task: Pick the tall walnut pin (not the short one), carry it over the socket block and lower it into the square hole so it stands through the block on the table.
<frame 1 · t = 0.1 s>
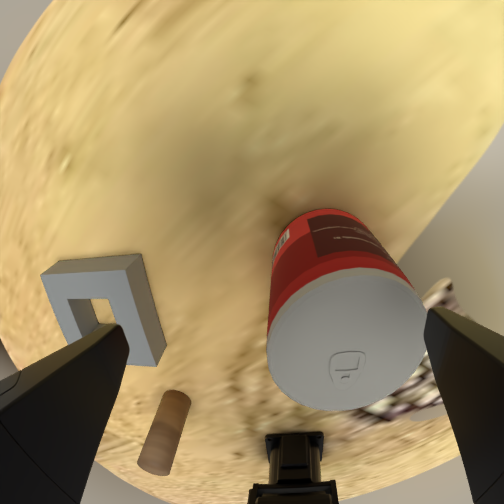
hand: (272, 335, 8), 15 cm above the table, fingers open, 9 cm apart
long pin: (177, 399, 30), on the table
socket block: (110, 303, 26), on the table
canned food: (323, 257, 23), on the table
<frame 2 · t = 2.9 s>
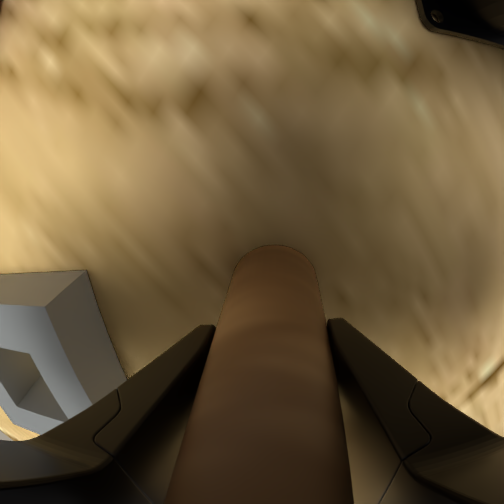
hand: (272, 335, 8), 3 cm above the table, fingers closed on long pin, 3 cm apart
long pin: (274, 284, 11), on the table, touching gripper
socket block: (50, 349, 14), on the table
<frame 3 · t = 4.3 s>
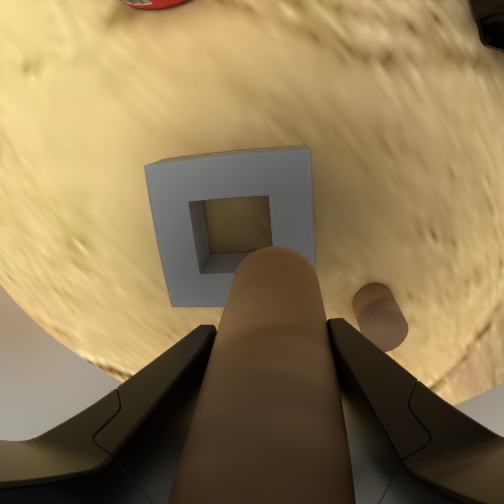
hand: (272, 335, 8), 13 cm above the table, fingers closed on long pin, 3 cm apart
long pin: (275, 286, 11), point 10 cm above the table, touching gripper
socket block: (239, 220, 20), on the table
short pin: (372, 301, 22), on the table
when the fingers open (4 cm above the table, at t = 6.0 s): long pin drops 1 cm, resting in socket block.
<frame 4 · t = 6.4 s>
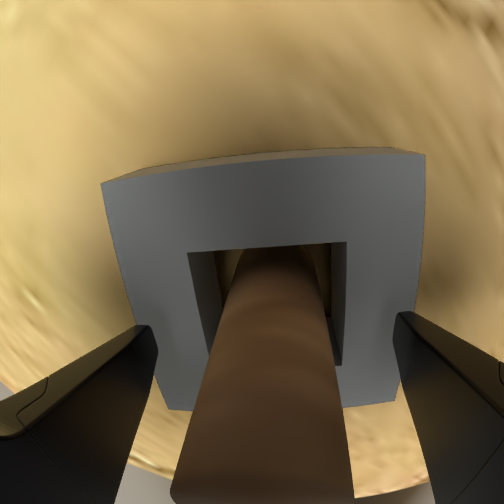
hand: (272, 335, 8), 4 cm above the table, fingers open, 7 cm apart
long pin: (275, 274, 12), resting in socket block
socket block: (274, 273, 12), on the table
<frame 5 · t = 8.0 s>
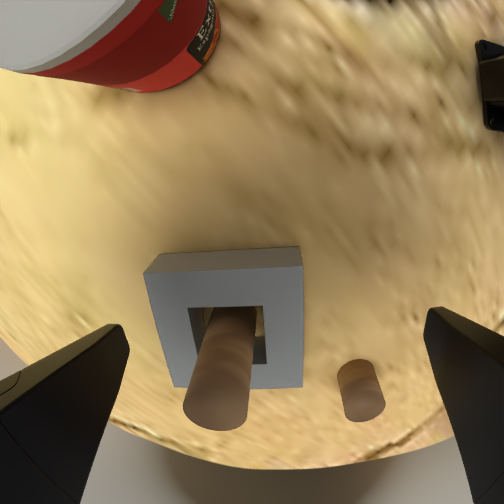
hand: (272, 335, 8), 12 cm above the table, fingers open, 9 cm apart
long pin: (234, 312, 22), resting in socket block
socket block: (234, 312, 22), on the table
short pin: (355, 373, 23), on the table
canned food: (159, 38, 16), on the table
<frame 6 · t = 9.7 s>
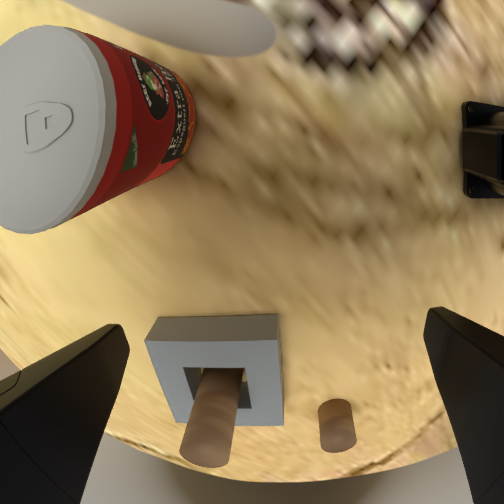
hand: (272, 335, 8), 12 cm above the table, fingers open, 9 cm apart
long pin: (225, 363, 24), resting in socket block
socket block: (224, 363, 24), on the table
short pin: (334, 409, 26), on the table
canned food: (140, 122, 18), on the table
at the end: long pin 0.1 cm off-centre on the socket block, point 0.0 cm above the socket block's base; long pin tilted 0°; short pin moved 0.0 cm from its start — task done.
